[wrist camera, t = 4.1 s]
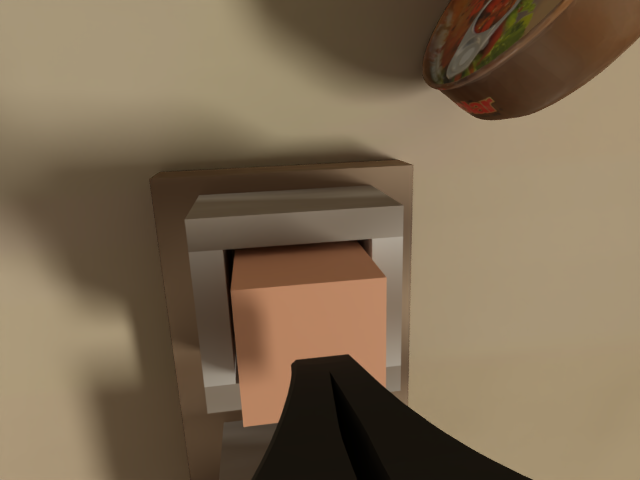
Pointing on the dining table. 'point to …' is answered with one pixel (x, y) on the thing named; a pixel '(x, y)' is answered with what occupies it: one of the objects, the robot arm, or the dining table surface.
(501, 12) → the tin
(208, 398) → the press board
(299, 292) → the terracotta plunger
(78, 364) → the dining table surface
